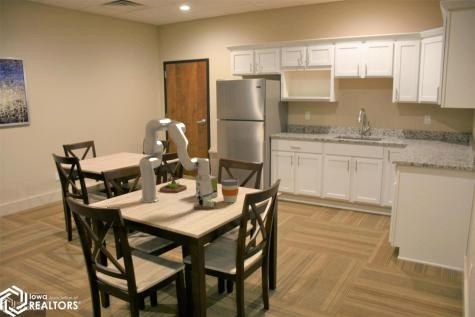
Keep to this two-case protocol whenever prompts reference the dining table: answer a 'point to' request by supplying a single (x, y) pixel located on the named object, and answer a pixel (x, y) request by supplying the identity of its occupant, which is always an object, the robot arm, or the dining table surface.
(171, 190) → the plant
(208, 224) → the dining table surface
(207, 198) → the collar
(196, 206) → the post board
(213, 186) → the tea box
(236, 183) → the reusable coffee cup
